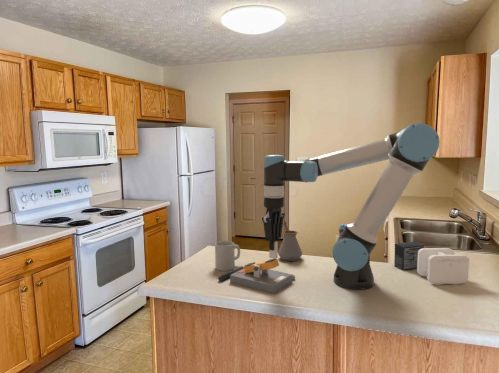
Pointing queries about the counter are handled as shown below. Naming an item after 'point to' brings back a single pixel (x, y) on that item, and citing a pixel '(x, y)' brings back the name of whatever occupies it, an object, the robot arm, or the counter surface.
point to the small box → (407, 255)
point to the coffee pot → (289, 246)
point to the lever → (262, 265)
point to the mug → (225, 255)
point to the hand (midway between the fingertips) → (273, 257)
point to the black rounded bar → (229, 273)
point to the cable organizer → (442, 266)
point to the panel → (262, 279)
